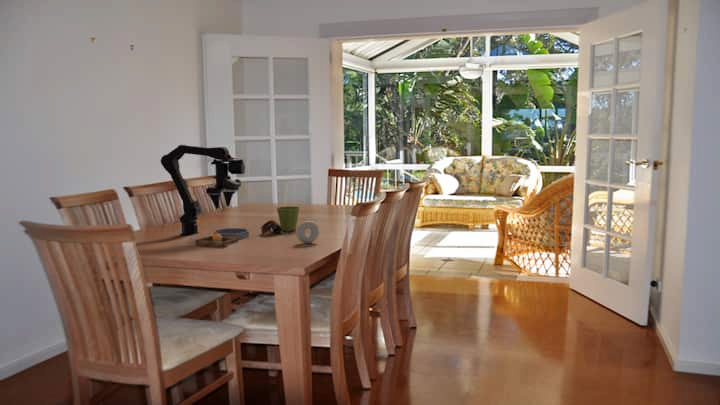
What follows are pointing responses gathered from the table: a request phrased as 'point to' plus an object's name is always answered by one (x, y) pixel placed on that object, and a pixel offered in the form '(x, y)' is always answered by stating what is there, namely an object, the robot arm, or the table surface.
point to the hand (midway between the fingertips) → (222, 207)
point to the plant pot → (288, 217)
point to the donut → (303, 227)
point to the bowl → (233, 233)
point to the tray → (209, 242)
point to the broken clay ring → (273, 225)
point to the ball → (217, 238)
